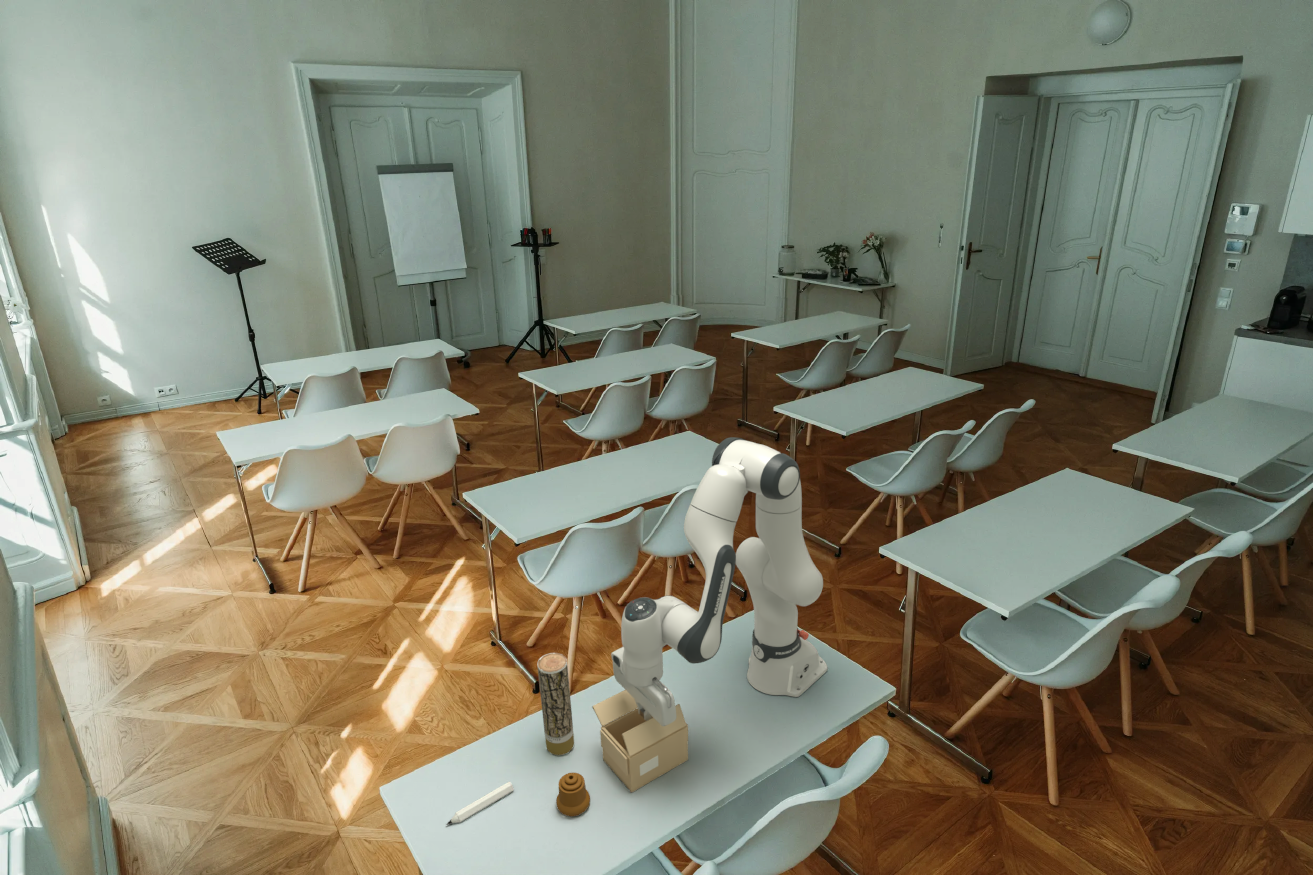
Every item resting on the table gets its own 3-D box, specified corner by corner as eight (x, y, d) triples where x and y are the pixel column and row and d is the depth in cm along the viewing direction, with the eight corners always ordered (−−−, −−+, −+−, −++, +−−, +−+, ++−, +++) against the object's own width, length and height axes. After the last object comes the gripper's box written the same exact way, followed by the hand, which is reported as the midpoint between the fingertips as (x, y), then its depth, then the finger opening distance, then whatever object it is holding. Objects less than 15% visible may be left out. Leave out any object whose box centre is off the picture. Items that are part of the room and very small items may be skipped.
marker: (446, 830, 167) (511, 790, 176) (449, 832, 165) (515, 792, 174) (442, 818, 167) (507, 779, 176) (445, 820, 165) (510, 781, 174)
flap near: (630, 756, 170) (622, 734, 170) (629, 755, 170) (621, 733, 170) (686, 725, 178) (679, 704, 178) (685, 724, 178) (678, 703, 178)
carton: (660, 729, 191) (659, 696, 187) (690, 758, 182) (689, 725, 178) (601, 761, 182) (598, 728, 178) (629, 794, 173) (627, 760, 169)
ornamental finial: (569, 824, 166) (550, 803, 171) (597, 805, 171) (577, 785, 176) (567, 797, 163) (547, 776, 168) (595, 777, 168) (574, 758, 173)
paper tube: (569, 758, 183) (561, 673, 174) (542, 754, 184) (533, 670, 175) (578, 737, 189) (570, 654, 180) (551, 734, 191) (543, 651, 181)
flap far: (656, 698, 187) (646, 679, 189) (657, 697, 186) (647, 678, 188) (601, 726, 179) (592, 706, 181) (602, 725, 178) (592, 705, 180)
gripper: (682, 686, 165) (683, 737, 170) (630, 639, 180) (632, 686, 186) (658, 699, 162) (660, 750, 167) (607, 649, 177) (610, 697, 182)
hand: (645, 716), depth 176 cm, fingers closed
